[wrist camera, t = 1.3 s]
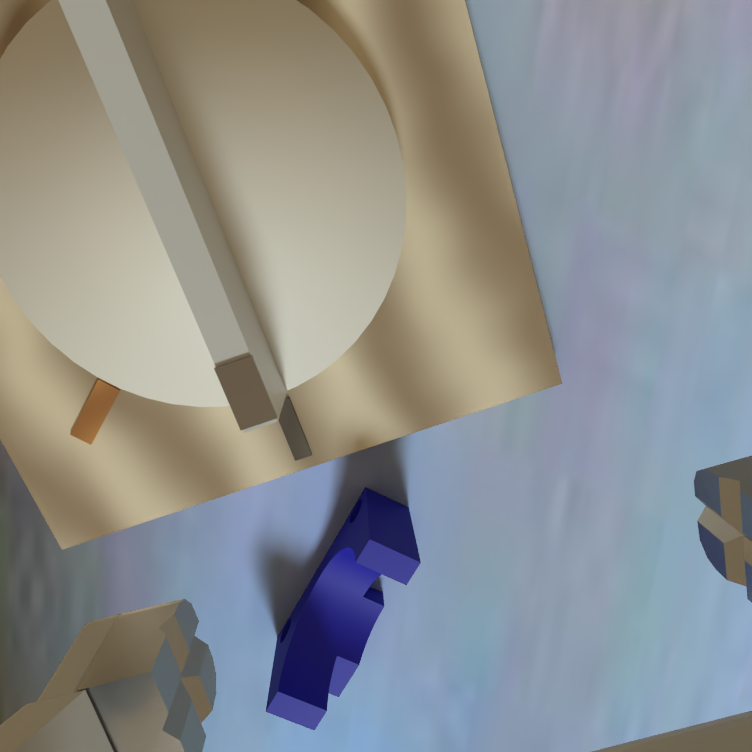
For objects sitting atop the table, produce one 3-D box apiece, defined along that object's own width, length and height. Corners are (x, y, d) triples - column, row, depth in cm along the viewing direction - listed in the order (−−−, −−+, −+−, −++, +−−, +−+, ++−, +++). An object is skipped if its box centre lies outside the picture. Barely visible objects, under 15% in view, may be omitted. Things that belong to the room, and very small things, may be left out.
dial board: (393, -242, 26) (397, -271, 24) (552, 376, 34) (563, 384, 32) (-226, -9, 27) (-261, -23, 25) (73, 535, 35) (60, 551, 33)
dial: (324, -93, 26) (318, -182, 20) (451, 329, 31) (476, 356, 25) (-92, 61, 26) (-215, 18, 21) (103, 446, 32) (50, 499, 26)
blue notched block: (339, 660, 39) (338, 739, 33) (277, 635, 38) (265, 711, 32) (429, 516, 36) (445, 574, 30) (365, 486, 35) (369, 539, 30)
